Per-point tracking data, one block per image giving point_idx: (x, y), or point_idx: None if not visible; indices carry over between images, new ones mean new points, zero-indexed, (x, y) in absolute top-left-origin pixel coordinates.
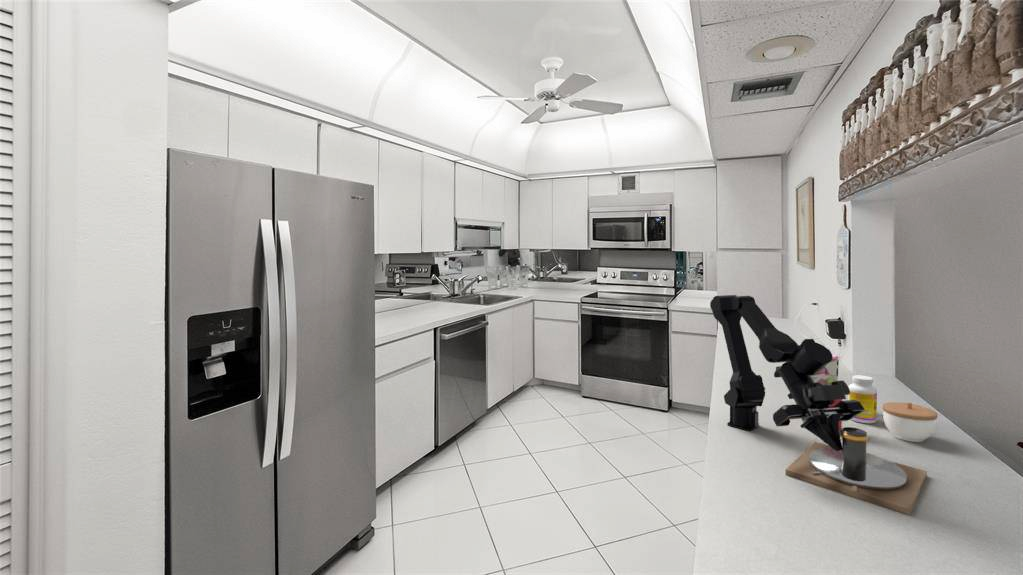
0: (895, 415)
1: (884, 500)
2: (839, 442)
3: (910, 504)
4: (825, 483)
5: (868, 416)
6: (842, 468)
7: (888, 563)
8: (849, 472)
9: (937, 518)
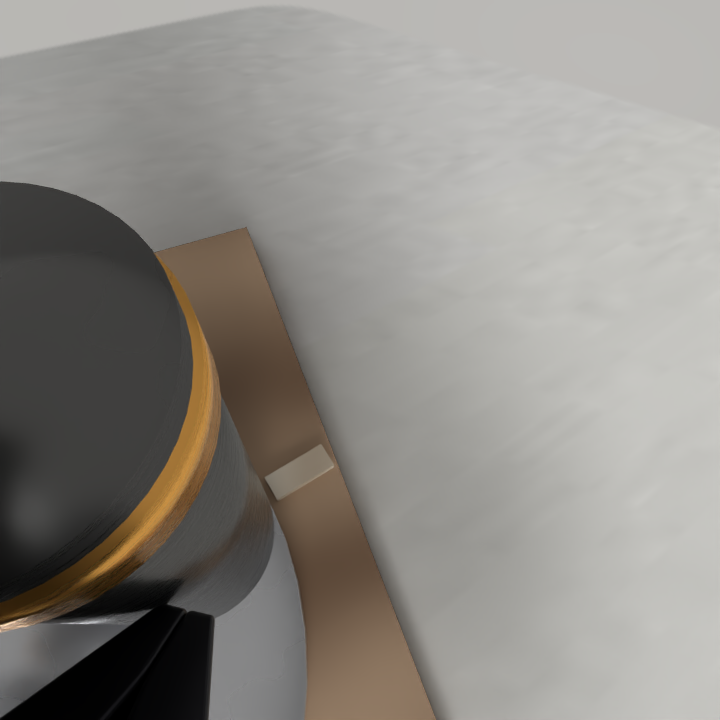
0: None
1: (274, 320)
2: (119, 663)
3: (188, 248)
4: (399, 633)
5: None
6: (243, 584)
7: (681, 128)
8: (267, 505)
9: (161, 194)
